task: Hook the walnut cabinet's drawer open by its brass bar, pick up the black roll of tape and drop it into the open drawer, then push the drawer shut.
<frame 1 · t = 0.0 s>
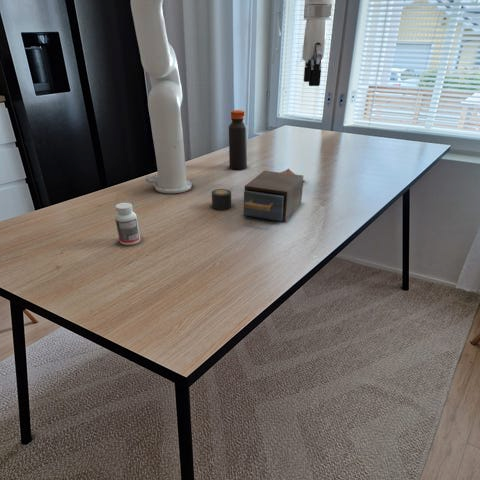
hand: (311, 83, 124), 31 cm above the table, tool pointing down, fingers open, 9 cm apart
sunglasses case: (282, 187, 142), on the table
tape roll: (221, 206, 127), on the table
drawer: (268, 200, 119), point 4 cm above the table, slide at 0.8 cm
vinegar: (238, 168, 161), on the table
pill bottle: (130, 241, 108), on the table
cabinet: (273, 209, 125), on the table
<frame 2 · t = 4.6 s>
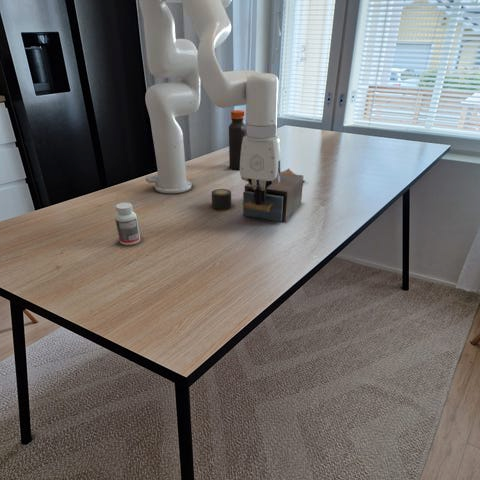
hand: (260, 203, 112), 6 cm above the table, tool pointing down, fingers closed
drawer: (268, 201, 119), point 4 cm above the table, slide at 1.2 cm, touching gripper
everything else where it was.
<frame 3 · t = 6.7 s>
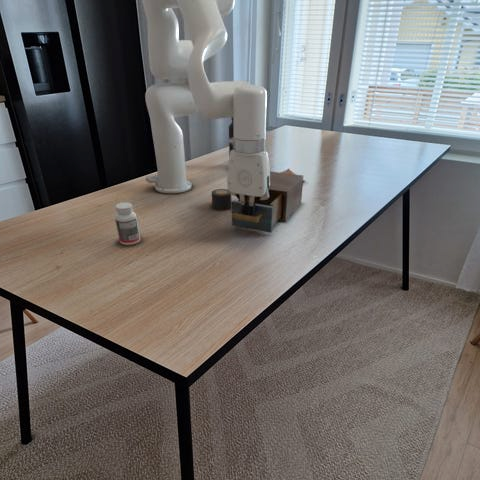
hand: (248, 218, 108), 5 cm above the table, tool pointing down, fingers closed
drawer: (258, 210, 113), point 4 cm above the table, slide at 9.3 cm
everything else where it was.
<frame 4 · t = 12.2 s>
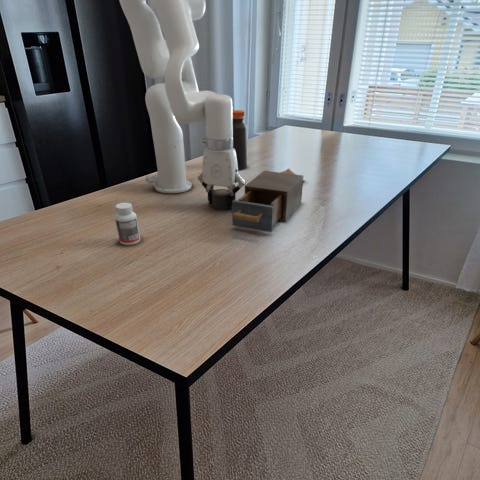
hand: (221, 204, 127), 1 cm above the table, tool pointing down, fingers closed on tape roll, 6 cm apart
tape roll: (221, 206, 127), on the table, touching gripper
drawer: (258, 210, 113), point 4 cm above the table, slide at 9.0 cm
everything else where it was.
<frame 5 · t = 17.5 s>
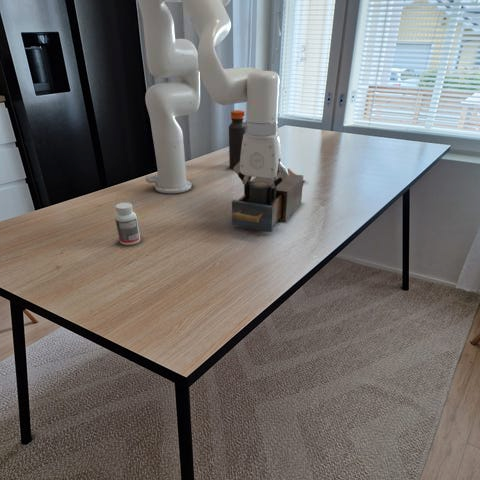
hand: (259, 198, 112), 7 cm above the table, tool pointing down, fingers closed on tape roll, 6 cm apart
tape roll: (259, 200, 113), point 7 cm above the table, touching gripper
everything else where it was.
when the fingers open (10 cm above the table, at t = 33.6 s): tape roll drops 7 cm, resting on drawer.
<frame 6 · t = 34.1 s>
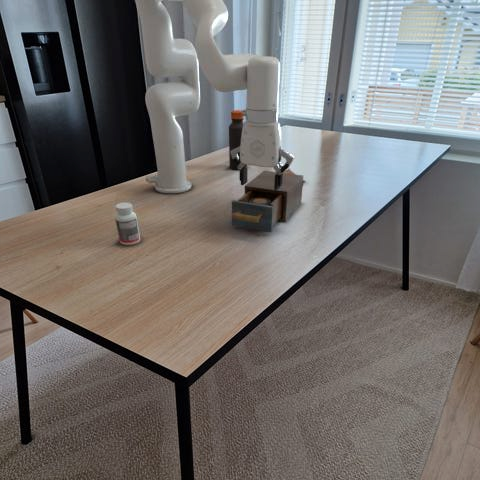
hand: (260, 186, 110), 11 cm above the table, tool pointing down, fingers open, 9 cm apart
tape roll: (259, 216, 115), point 2 cm above the table, touching drawer
drawer: (258, 210, 113), point 4 cm above the table, slide at 9.1 cm, touching tape roll
everything else where it was.
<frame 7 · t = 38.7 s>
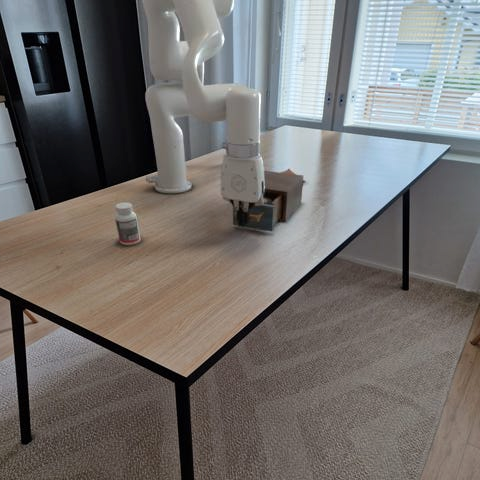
hand: (243, 224, 105), 5 cm above the table, tool pointing down, fingers closed
drawer: (259, 209, 113), point 4 cm above the table, slide at 8.5 cm, touching gripper, tape roll
everything else where it was.
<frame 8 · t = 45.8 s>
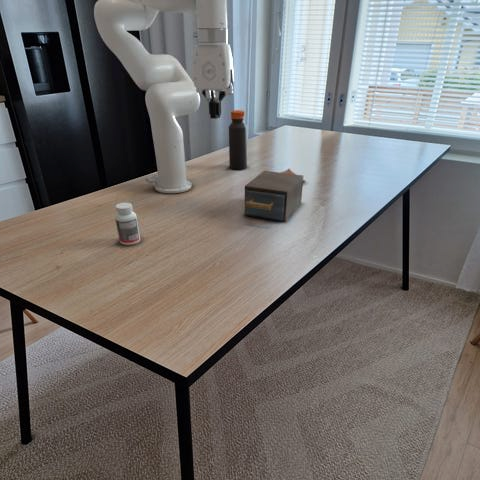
hand: (215, 117, 113), 25 cm above the table, tool pointing down, fingers closed
tape roll: (270, 205, 122), point 2 cm above the table, touching drawer
drawer: (269, 199, 120), point 4 cm above the table, slide at 0.0 cm, touching tape roll
everything else where it was.
at the end: drawer pulled out 9.3 cm at the most during the clip, back to where it started at the end; tape roll inside the target area in the cabinet (2.9 cm from its centre), point 2.1 cm above the cabinet's base; drawer slide at 0.0 cm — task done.
